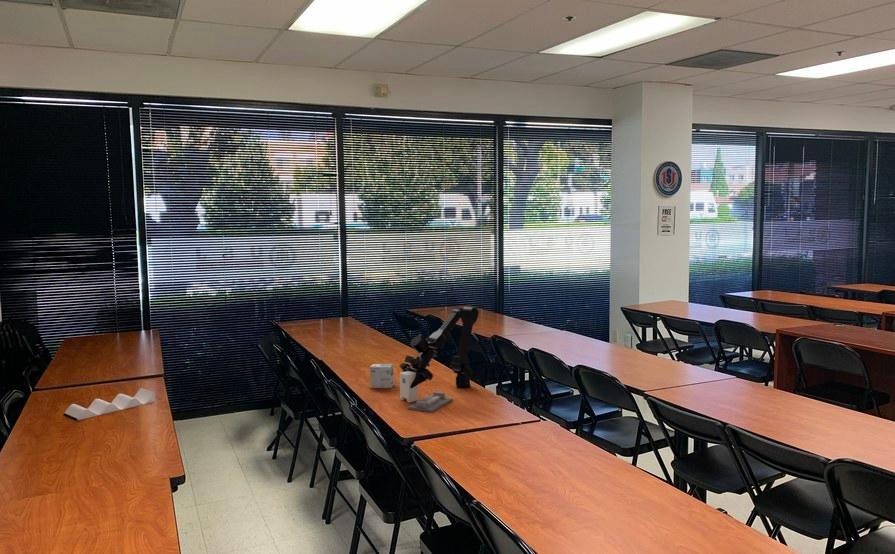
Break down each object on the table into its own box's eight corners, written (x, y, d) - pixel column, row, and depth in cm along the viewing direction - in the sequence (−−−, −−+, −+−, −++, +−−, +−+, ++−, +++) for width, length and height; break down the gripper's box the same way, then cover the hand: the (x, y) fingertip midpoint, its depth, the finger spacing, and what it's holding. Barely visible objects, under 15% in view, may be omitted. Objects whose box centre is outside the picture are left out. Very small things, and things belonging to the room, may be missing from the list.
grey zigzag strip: (62, 416, 291) (61, 405, 291) (141, 398, 318) (140, 387, 318) (75, 422, 283) (74, 410, 282) (154, 403, 310) (154, 392, 310)
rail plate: (429, 397, 311) (429, 390, 310) (452, 400, 305) (452, 393, 305) (407, 409, 293) (407, 401, 293) (432, 412, 288) (432, 404, 287)
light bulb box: (394, 384, 334) (393, 363, 333) (391, 388, 327) (391, 366, 326) (373, 384, 335) (372, 363, 334) (370, 388, 328) (369, 366, 327)
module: (408, 397, 311) (408, 371, 310) (417, 400, 306) (417, 373, 305) (399, 399, 308) (398, 373, 306) (407, 402, 303) (407, 375, 301)
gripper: (402, 345, 314) (383, 372, 308) (427, 351, 300) (408, 380, 294) (415, 359, 320) (397, 386, 314) (441, 366, 306) (422, 394, 300)
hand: (406, 386), depth 306 cm, fingers closed on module, 6 cm apart
